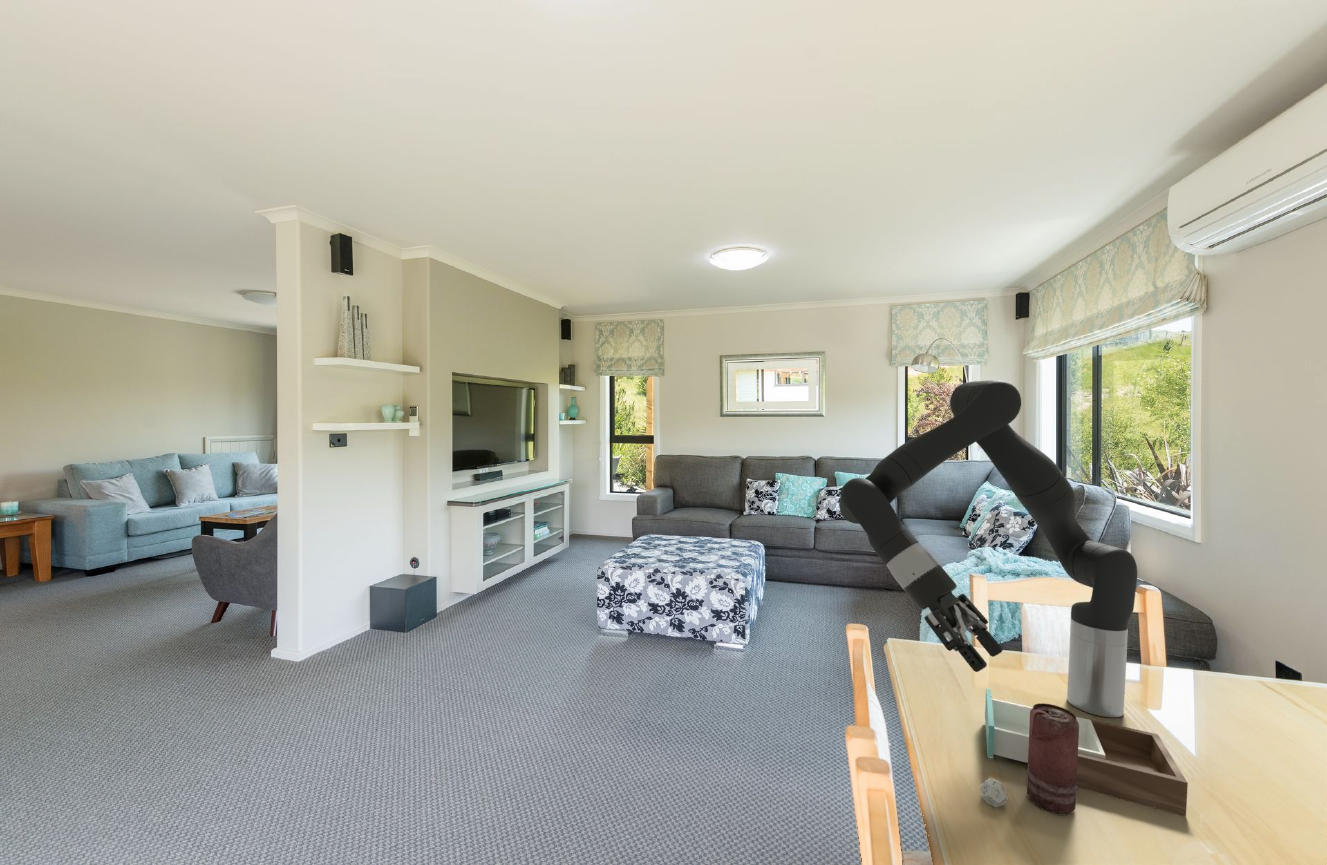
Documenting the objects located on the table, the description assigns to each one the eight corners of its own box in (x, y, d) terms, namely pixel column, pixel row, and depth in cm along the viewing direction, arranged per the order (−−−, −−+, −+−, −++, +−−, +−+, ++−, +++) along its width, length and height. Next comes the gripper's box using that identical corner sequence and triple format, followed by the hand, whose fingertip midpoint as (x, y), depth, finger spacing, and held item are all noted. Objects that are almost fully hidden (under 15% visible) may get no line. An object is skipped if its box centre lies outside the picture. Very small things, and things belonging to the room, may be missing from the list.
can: (1015, 789, 89) (1019, 701, 89) (1053, 788, 90) (1057, 701, 89) (1044, 817, 83) (1048, 722, 83) (1085, 815, 84) (1089, 721, 83)
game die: (976, 802, 86) (977, 782, 86) (984, 791, 89) (985, 772, 89) (1002, 814, 84) (1003, 794, 84) (1009, 802, 86) (1010, 783, 86)
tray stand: (1037, 734, 105) (1038, 707, 105) (1156, 762, 97) (1157, 733, 97) (1047, 779, 92) (1049, 748, 92) (1185, 815, 84) (1187, 782, 84)
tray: (984, 716, 109) (986, 688, 109) (1087, 740, 102) (1089, 710, 101) (987, 756, 96) (988, 725, 96) (1106, 787, 89) (1107, 753, 88)
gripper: (920, 571, 93) (996, 663, 85) (951, 556, 103) (1021, 638, 95) (887, 595, 97) (957, 685, 89) (920, 579, 107) (985, 659, 99)
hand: (990, 661), depth 92 cm, fingers open, 8 cm apart
